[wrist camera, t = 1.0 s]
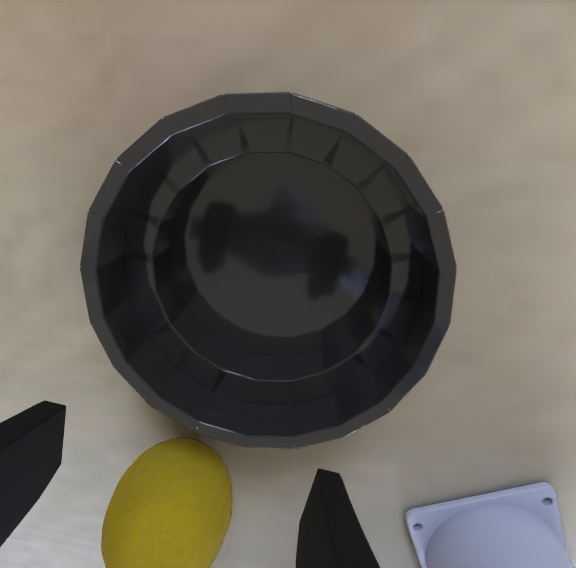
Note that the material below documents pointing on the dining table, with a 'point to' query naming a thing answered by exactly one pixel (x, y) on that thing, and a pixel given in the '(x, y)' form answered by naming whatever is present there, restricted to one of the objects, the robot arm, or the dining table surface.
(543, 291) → the dining table surface
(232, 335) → the bowl
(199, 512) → the lemon
